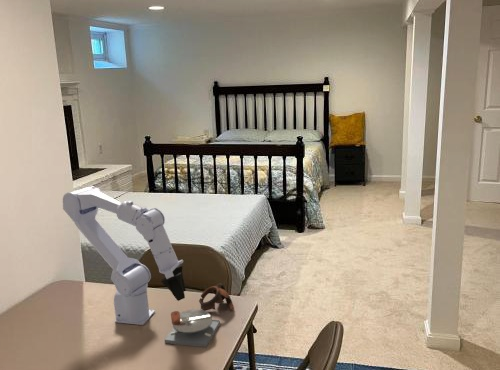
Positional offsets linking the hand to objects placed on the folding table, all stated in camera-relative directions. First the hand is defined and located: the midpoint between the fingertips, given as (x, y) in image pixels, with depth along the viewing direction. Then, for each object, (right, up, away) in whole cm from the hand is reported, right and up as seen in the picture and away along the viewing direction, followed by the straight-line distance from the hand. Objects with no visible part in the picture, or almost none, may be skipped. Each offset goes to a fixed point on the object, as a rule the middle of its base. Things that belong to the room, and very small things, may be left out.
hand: (181, 295), depth 128 cm
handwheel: (+3, -9, 0) cm, 10 cm away
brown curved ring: (+9, -7, +14) cm, 18 cm away
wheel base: (+3, -11, 0) cm, 11 cm away
